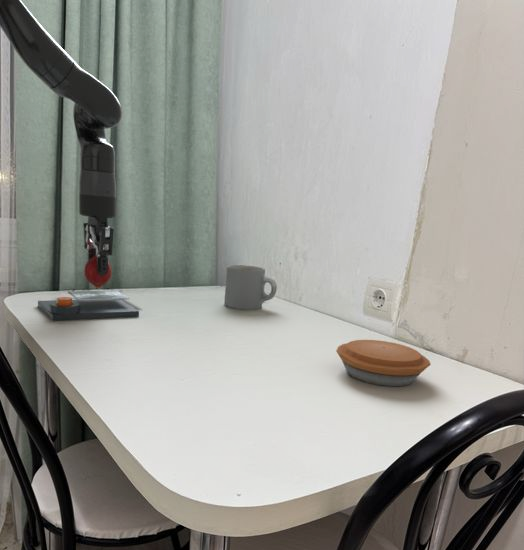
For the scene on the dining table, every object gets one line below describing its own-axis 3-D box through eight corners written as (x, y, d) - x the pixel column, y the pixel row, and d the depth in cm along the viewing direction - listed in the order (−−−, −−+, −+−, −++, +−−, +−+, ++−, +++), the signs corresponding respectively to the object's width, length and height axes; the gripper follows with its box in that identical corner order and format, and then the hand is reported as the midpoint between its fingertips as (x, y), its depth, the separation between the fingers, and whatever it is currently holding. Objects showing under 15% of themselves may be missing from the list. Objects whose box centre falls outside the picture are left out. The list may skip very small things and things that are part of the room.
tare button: (59, 307, 102) (59, 299, 102) (56, 304, 104) (55, 297, 104) (73, 306, 104) (73, 299, 103) (70, 304, 106) (70, 296, 106)
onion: (111, 290, 112) (111, 254, 110) (83, 289, 110) (83, 252, 108) (111, 286, 117) (111, 251, 115) (85, 285, 116) (85, 249, 113)
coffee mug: (217, 305, 131) (219, 266, 129) (235, 300, 140) (238, 264, 137) (263, 313, 126) (266, 273, 123) (279, 308, 135) (283, 270, 132)
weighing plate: (78, 300, 108) (78, 299, 108) (68, 292, 115) (68, 291, 115) (129, 299, 114) (129, 297, 114) (115, 291, 121) (115, 290, 121)
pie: (360, 355, 97) (364, 330, 95) (439, 378, 88) (445, 350, 86) (316, 371, 85) (320, 343, 84) (403, 399, 76) (408, 368, 75)
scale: (53, 322, 101) (52, 307, 100) (37, 306, 112) (37, 293, 111) (139, 317, 111) (139, 304, 110) (117, 304, 122) (117, 291, 121)
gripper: (126, 196, 105) (125, 277, 109) (104, 194, 116) (104, 267, 121) (89, 193, 100) (90, 277, 105) (70, 191, 112) (72, 267, 116)
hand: (97, 271), depth 113 cm, fingers closed on onion, 6 cm apart
